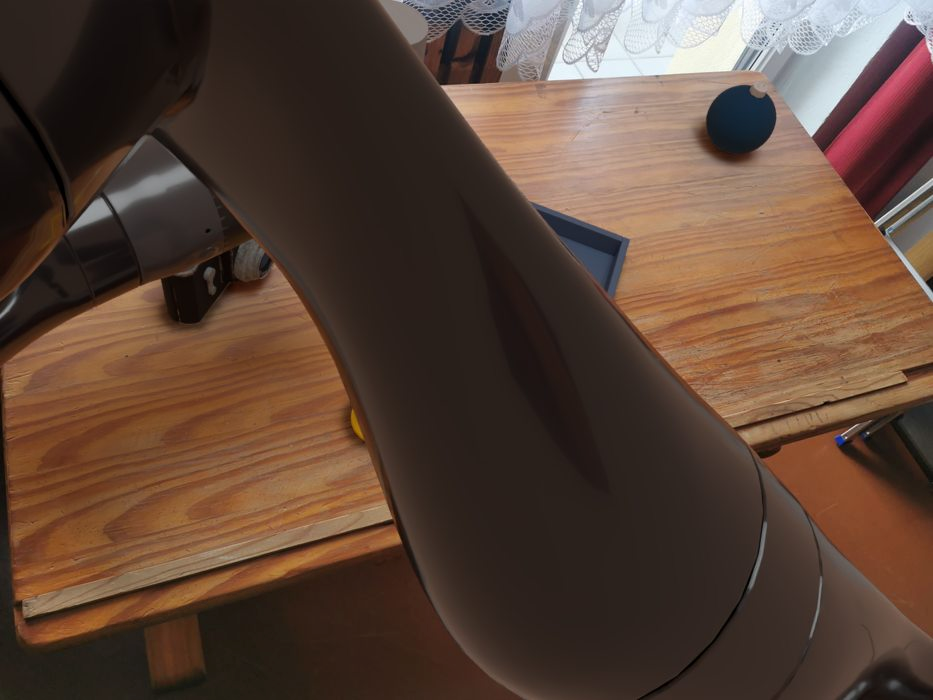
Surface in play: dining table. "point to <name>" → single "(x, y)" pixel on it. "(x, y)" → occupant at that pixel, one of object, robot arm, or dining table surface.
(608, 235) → the tray
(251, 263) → the camera
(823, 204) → the dining table surface
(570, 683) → the robot arm
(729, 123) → the christmas ornament
